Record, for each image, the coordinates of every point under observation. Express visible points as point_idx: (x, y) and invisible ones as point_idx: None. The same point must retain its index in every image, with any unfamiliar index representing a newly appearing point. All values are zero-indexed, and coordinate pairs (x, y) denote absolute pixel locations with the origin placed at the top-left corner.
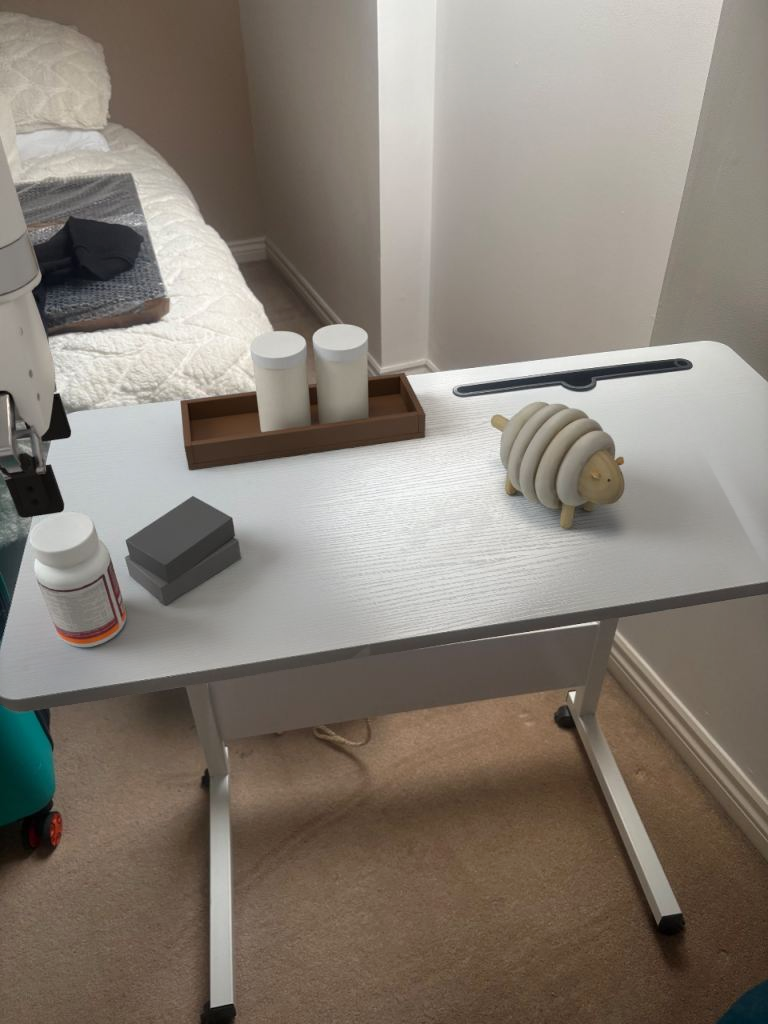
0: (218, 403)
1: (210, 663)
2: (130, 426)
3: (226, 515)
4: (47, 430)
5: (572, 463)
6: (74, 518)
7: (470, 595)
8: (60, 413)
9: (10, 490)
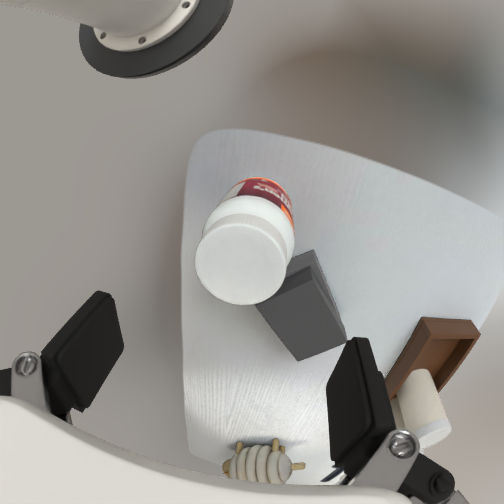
0: (460, 355)
1: (183, 287)
2: (494, 281)
3: (303, 358)
4: (340, 382)
5: (231, 475)
6: (262, 286)
7: (204, 406)
8: (330, 431)
9: (63, 328)
